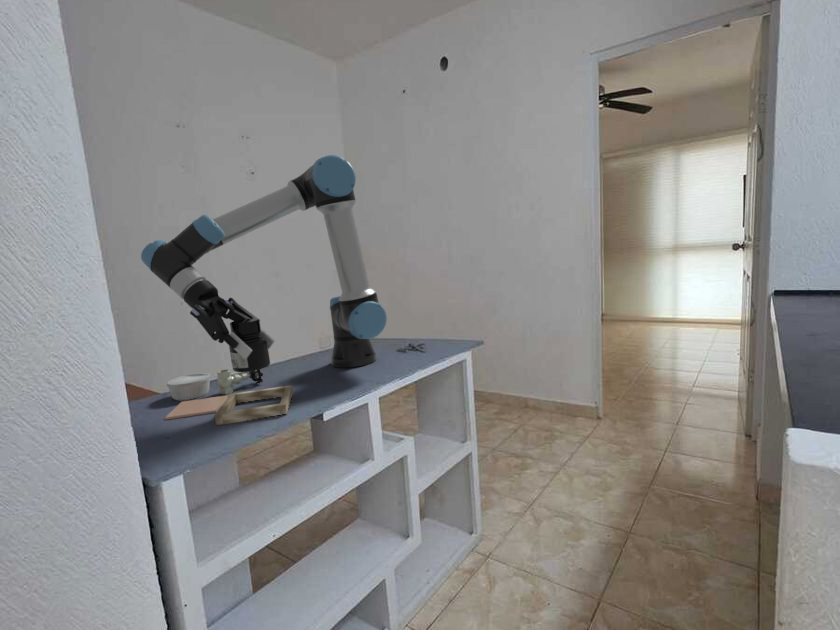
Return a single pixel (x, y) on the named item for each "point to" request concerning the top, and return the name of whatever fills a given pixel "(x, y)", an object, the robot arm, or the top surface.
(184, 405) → the terracotta tile
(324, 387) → the top surface
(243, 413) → the birch collar
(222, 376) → the valve
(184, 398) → the ramekin
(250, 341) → the ink bottle
